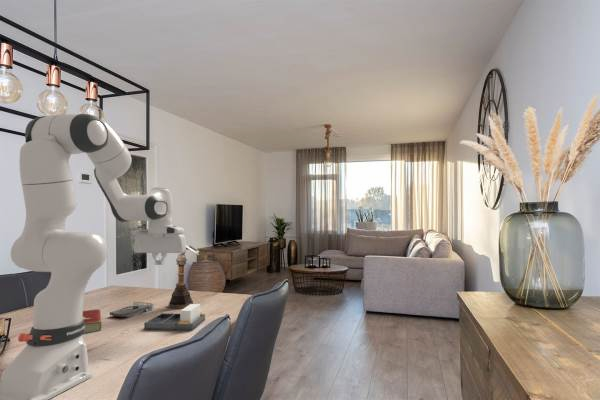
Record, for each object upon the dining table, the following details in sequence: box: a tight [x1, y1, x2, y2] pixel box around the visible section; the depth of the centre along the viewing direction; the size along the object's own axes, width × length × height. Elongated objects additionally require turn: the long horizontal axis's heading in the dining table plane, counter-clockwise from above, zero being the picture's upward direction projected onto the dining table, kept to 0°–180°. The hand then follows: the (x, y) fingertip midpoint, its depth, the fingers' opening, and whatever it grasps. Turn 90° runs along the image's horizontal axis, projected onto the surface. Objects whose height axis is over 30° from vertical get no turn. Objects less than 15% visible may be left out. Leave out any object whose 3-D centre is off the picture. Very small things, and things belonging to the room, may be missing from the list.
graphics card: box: [109, 301, 155, 318], centre depth 156 cm, size 17×4×12 cm
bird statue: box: [168, 244, 200, 310], centre depth 171 cm, size 17×13×35 cm
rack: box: [143, 311, 206, 332], centre depth 139 cm, size 14×19×3 cm
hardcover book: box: [83, 308, 102, 334], centre depth 139 cm, size 12×21×4 cm, turn 30°
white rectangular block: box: [179, 303, 201, 323], centre depth 138 cm, size 10×4×6 cm, turn 175°
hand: (159, 264), depth 137 cm, fingers closed
